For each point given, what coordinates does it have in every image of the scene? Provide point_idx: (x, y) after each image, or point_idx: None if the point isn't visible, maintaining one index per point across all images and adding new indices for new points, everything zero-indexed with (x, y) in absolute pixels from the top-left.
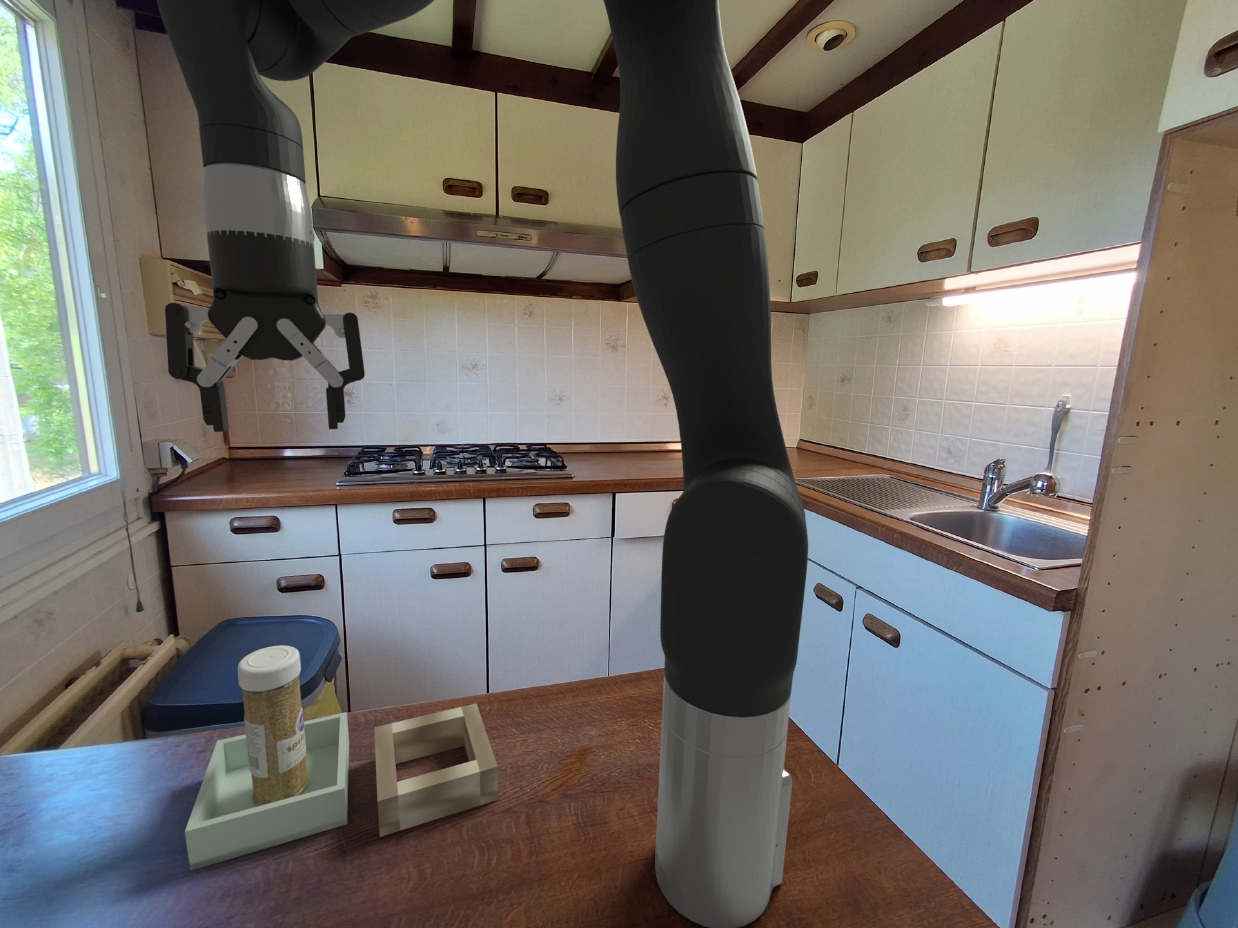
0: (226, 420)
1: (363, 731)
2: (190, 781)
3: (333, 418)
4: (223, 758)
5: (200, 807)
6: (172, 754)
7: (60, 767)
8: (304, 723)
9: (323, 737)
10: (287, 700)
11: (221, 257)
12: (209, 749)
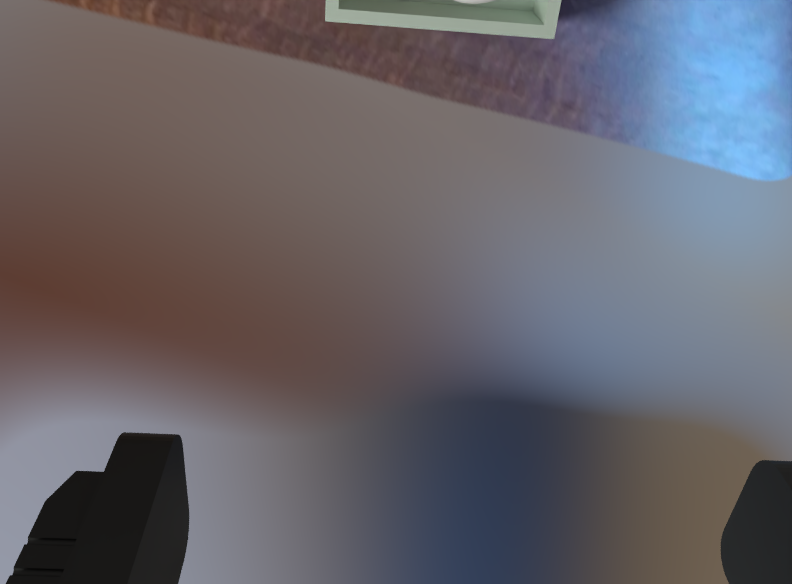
0: (752, 568)
1: (301, 29)
2: (585, 25)
3: (123, 476)
4: (541, 5)
5: None
6: (610, 119)
7: (755, 162)
8: (405, 18)
9: (373, 3)
10: None
11: None
12: (557, 105)
